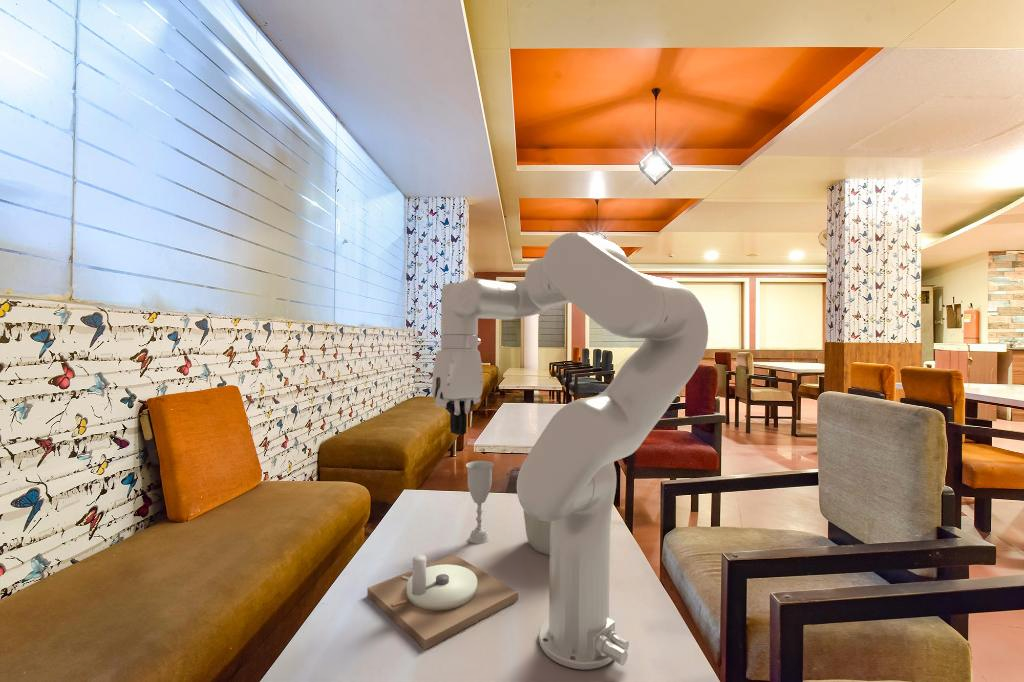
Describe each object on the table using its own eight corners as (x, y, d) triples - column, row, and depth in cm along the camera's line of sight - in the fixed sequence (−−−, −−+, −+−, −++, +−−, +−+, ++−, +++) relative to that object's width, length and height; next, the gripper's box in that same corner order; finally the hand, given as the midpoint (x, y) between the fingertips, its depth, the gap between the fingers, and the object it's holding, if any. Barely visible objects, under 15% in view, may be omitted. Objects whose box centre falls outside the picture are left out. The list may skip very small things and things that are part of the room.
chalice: (488, 547, 106) (489, 469, 106) (460, 544, 107) (461, 468, 107) (496, 533, 113) (497, 461, 113) (470, 531, 114) (470, 459, 114)
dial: (450, 565, 94) (451, 529, 94) (491, 591, 84) (491, 551, 84) (393, 588, 85) (394, 548, 85) (431, 620, 76) (432, 575, 76)
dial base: (517, 600, 84) (517, 591, 84) (425, 649, 71) (425, 638, 71) (454, 561, 99) (454, 553, 99) (367, 595, 85) (367, 586, 85)
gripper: (476, 343, 101) (475, 426, 101) (417, 343, 91) (416, 435, 91) (498, 344, 95) (497, 431, 95) (439, 344, 85) (438, 441, 85)
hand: (458, 433), depth 93 cm, fingers closed
